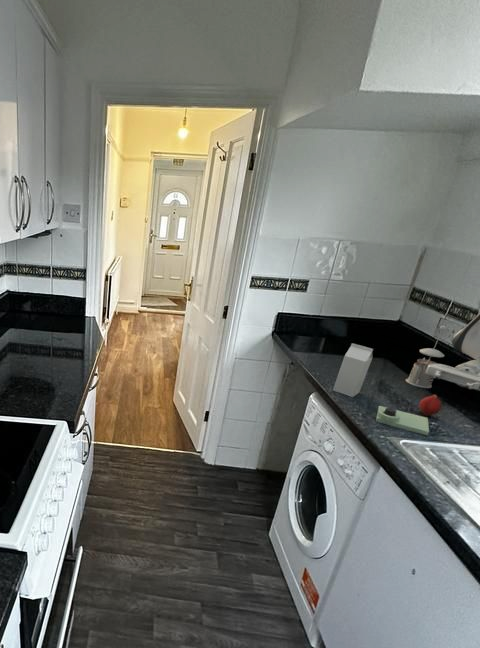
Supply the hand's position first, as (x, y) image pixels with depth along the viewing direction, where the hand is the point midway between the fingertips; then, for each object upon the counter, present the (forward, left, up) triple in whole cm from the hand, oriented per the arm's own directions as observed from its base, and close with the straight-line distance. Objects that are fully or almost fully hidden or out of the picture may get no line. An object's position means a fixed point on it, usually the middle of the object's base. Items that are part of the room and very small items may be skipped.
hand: (452, 381), depth 145 cm
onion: (+5, +11, -11) cm, 16 cm away
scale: (+12, +23, -11) cm, 28 cm away
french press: (+7, -22, -11) cm, 25 cm away
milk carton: (+30, +9, -11) cm, 33 cm away
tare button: (+16, +27, -8) cm, 32 cm away
